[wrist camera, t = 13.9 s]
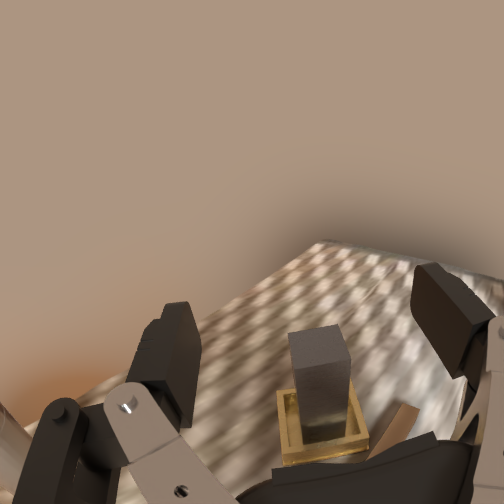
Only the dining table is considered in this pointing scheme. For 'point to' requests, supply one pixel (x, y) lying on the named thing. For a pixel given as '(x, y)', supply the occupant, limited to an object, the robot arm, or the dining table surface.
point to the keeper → (300, 453)
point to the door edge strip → (397, 429)
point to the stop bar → (321, 382)
